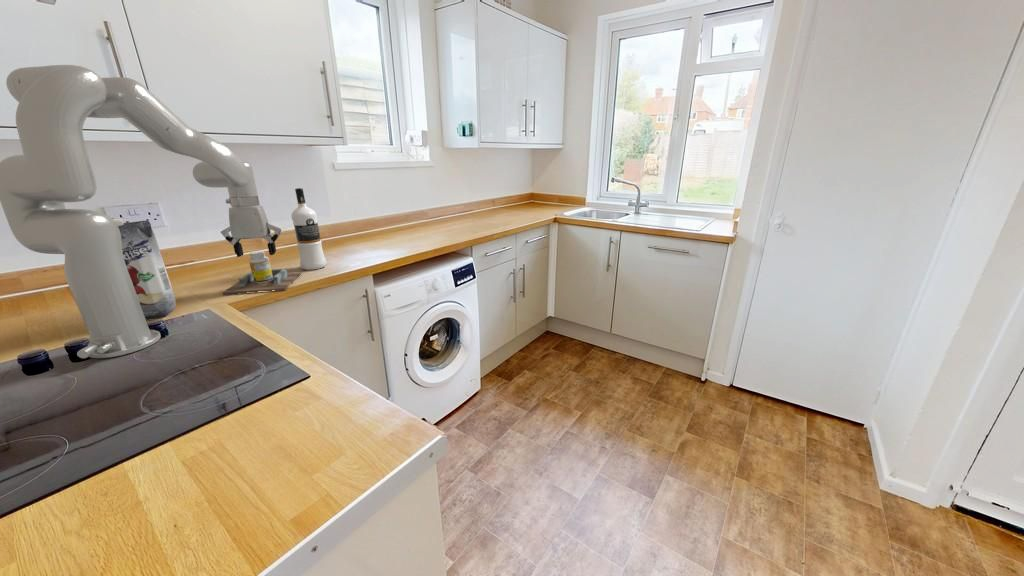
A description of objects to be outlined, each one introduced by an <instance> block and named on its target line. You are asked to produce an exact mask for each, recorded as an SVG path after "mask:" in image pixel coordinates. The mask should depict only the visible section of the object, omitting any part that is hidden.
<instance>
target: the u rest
mask: <svg viewBox="0 0 1024 576" xmlns="http://www.w3.org/2000/svg"><path fill="white" fill-rule="evenodd" d="M271 271H272V275H273V280H272V281H271V282H268V283H263V284H258V283H255V282H254V278H253V274H252V271H249V272H247V273H246V274H245V275H244V276H242V277H240V278H239V279H238V281H237V282H236V283H234V284H233V285H232V286H230V287H228V288H227V289H225V290H224V291H222V295H223V296H231V295H232V294H235V295H239V294H238V293H247V292H258V291H272V290H275V291H274V292H284V291H286V290H288V288H289V287H290V286H289V285H290V284H291V283H292V282H293V281H295V280H296V279H297V278H298V277H299V276H300V275H301V274H302V271H297V272H296V271H294V272H289V271H288V268H276V269H272V268H271ZM302 275H303V274H302ZM302 275H301V276H302ZM301 276H300V277H301ZM300 277H299V278H300ZM299 278H298V279H299ZM298 279H297V280H298ZM297 280H296V281H297ZM296 281H295V282H296ZM288 286H289V287H288Z"/></svg>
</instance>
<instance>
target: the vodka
mask: <svg viewBox="0 0 1024 576" xmlns="http://www.w3.org/2000/svg"><path fill="white" fill-rule="evenodd" d="M294 191H295V195H296V200H297V206H298V207H297V208H295V209H294V210H293V211H292V212H291V215H290V216H291V220H292V224H293V227H294V232H295V235H296V241H297V247H298V252H299V261H300V262H299V266H300V268H301V269H302V270H304V269H305V270H304V271H314V269H317V270H321V269H323V267H324V268H325V267H326V266H327V265H328V262H327V259H326V257H325V255H324V254H325V253H324V250H323V245H322V240H321V233H320V230H319V224H318V223H319V222H318V216H317V215H318V214H317V212H316V211H315V210H314V209H312V208H311V207H308V206H307V204H306V199H305V195H304V189H303V188H300V187H297V188H295V189H294ZM320 268H321V269H320Z"/></svg>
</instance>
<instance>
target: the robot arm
mask: <svg viewBox="0 0 1024 576" xmlns="http://www.w3.org/2000/svg"><path fill="white" fill-rule="evenodd" d="M5 84H6V87H7V88H6V89H7V91H8V92H9V94H10V95H11V96H12V97H13V99H15V100H16V101H17V102H18V105H17V107H16V111H15V124H16V130H17V134H18V138H19V141H20V145H21V149H22V154H16V155H11V156H9V157H6V158H4V159H2V160H1V161H0V204H1V207H2V209H3V212H4V216H5V218H6V220H7V223H8V226H9V229H10V230H11V233H12V234H13V236H14V238H15V239H16V241H17V242H18V243H19V244H20V245H21V246H23V247H24V248H27V249H28V250H30V251H31V252H32V251H33V252H36V253H38V254H45V255H64V265H63V266H64V268H63V269H64V271H63V272H64V277H65V281H66V283H67V285H68V287H69V289H70V292H71V294H72V297H73V299H74V300H75V304H76V306H77V307H78V311H79V314H80V315H81V318H82V321H83V323H84V325H85V327H86V330H87V332H88V334H89V336H90V337H88V338H87V341H88V344H87V346H85V347H83V348H81V349H79V350H78V351H76V352H77V353H76V355H77V357H79V358H80V359H86V358H91V359H108V358H109V359H110V358H115V357H120V356H124V355H128V354H132V353H135V352H137V351H140V350H143V349H145V348H149V347H151V346H152V345H154V344H155V343H156V342H158V341H159V340H160V339H161V337H162V336H161V332H160V331H159V330H155V329H150V328H149V324H148V322H147V319H145V316H144V313H143V311H142V308H141V305H140V302H139V300H138V297H137V294H136V291H135V289H134V286H133V283H132V280H131V278H130V275H129V272H128V270H127V267H126V264H125V260H124V256H123V251H122V241H121V234H120V230H119V228H118V226H117V225H116V223H115V222H114V221H113V220H112V219H113V218H111V217H109V216H108V215H106V214H103V213H101V212H98V211H95V210H92V209H91V210H90V209H84V208H66V206H65V203H79V202H85V201H87V200H90V199H92V198H93V197H94V196H95V195H96V192H97V183H96V182H97V181H96V178H95V177H96V176H95V175H94V170H93V168H92V164H91V161H90V157H89V155H88V151H87V149H86V148H87V146H86V142H85V138H84V133H83V132H84V131H83V129H84V124H85V121H86V119H87V118H92V119H93V118H94V119H117V118H119V119H120V118H121V119H124V120H126V121H127V122H128V123H130V124H131V125H132V126H134V128H136V130H138V131H140V132H141V133H142V134H143V135H144V136H145V137H147V138H148V139H149V140H151V141H152V142H153V143H155V144H156V145H157V146H158V147H160V148H161V149H164V150H166V151H169V152H171V153H174V154H178V155H180V156H186V157H190V158H193V159H196V160H199V161H200V162H197V163H196V164H195V165H194V167H193V169H192V175H193V178H194V180H195V181H196V183H198V184H200V185H201V186H204V187H207V188H215V189H216V188H218V189H219V188H227V191H228V196H229V198H226V199H225V203H226V204H229V205H230V206H231V207H228V222H229V226H228V227H226V228H224V229H222V230H221V231H220V234H221V235H222V236H223V237H224V239H225V240H226V241H228V242H229V243H230V245H232V246H233V251H234V254H235V255H236V256H237V258H239V257H243V255H244V251H243V246H242V245H243V244H242V243H241V240H252V239H253V240H254V239H264V240H266V241H267V248H268V249H267V250H268V253H269V256H273V255H276V252H277V248H276V244H275V243H276V241H277V240H278V239H279V237H280V234H281V232H282V229H281V228H280V227H278V226H275V225H272V224H270V223H269V219H268V216H267V214H266V212H265V209H264V207H263V206H262V205H261V204H260V200H259V195H258V190H257V189H258V188H257V185H256V180H255V175H254V170H253V167H252V165H251V163H249V162H247V161H242V160H241V158H240V157H239V156H237V155H236V154H235V152H233V151H232V150H231V149H230V148H228V146H226V145H224V144H223V143H221V142H220V141H217V140H216V139H214V138H212V137H210V136H208V135H206V134H205V133H203V132H200V131H198V130H196V129H194V128H192V127H190V126H188V125H187V124H186V122H184V121H183V120H182V119H180V117H179V116H177V115H176V114H175V113H174V112H173V111H172V110H171V109H170V108H169V107H168V106H167V105H165V104H164V103H163V102H162V101H161V100H160V99H159V98H158V97H157V96H156V95H155V94H154V93H152V92H151V91H150V89H148V88H147V87H146V86H145V85H143V84H142V83H140V82H139V81H137V80H135V79H132V78H128V77H122V76H121V77H120V76H119V77H117V76H113V77H101V76H100V75H99V74H97V73H96V72H95V71H93V70H91V69H89V68H86V67H84V66H79V65H74V64H56V65H55V64H54V65H52V64H51V65H43V66H28V67H27V66H26V67H20V68H16V69H13V70H12V71H10V73H9V74H8V75H7V77H6V83H5ZM271 231H273V232H274V234H273V236H272V234H271ZM230 234H231V235H230Z"/></svg>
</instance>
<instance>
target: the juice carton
mask: <svg viewBox="0 0 1024 576" xmlns="http://www.w3.org/2000/svg"><path fill="white" fill-rule="evenodd" d="M111 219H112V220H113V221H114V222H115V223H116V225H117V226H118V228H119V230H120V234H121V241H122V251H123V256H124V260H125V264H126V267H127V270H128V272H129V275H130V278H131V280H132V283H133V286H134V289H135V291H136V294H137V297H138V300H139V302H140V305H141V308H142V311H143V313H144V316H145V319H146V320H151V319H152V320H153V319H159V318H165V317H167V316H168V315H170V313H172V312H173V311H174V310H175V309H176V306H177V305H176V296H175V293H174V292H175V291H174V289H173V286H172V284H171V280H170V277H169V274H168V272H167V268H166V265H165V262H164V259H163V256H162V254H161V249H160V248H159V245H158V240H157V238H156V236H155V233H154V230H153V228H152V224H151V222H150V220H139V221H131V222H130V221H129V222H124V221H123V219H122V218H111Z"/></svg>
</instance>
